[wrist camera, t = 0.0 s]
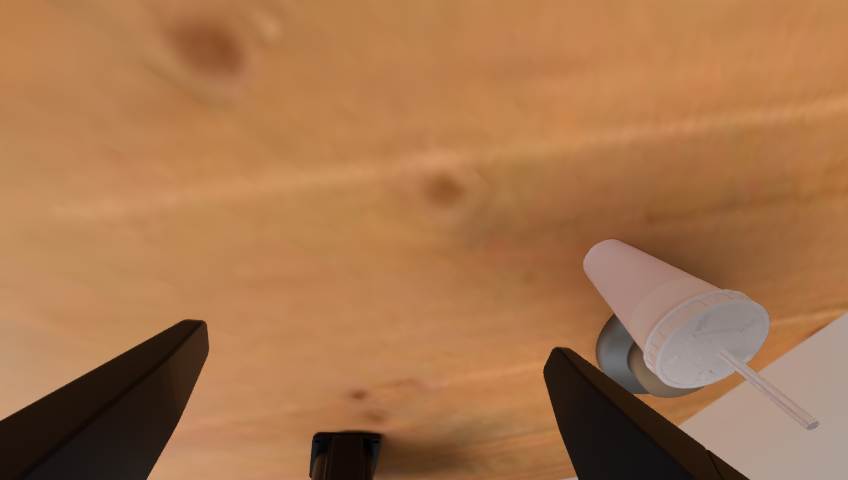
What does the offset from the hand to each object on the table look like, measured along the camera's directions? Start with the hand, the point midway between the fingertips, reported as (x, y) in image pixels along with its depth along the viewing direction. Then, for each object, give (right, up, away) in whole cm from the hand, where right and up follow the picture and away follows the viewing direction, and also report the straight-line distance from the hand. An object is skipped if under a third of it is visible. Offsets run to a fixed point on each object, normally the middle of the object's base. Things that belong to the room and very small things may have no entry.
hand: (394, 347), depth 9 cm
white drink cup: (+15, +1, +18) cm, 24 cm away
